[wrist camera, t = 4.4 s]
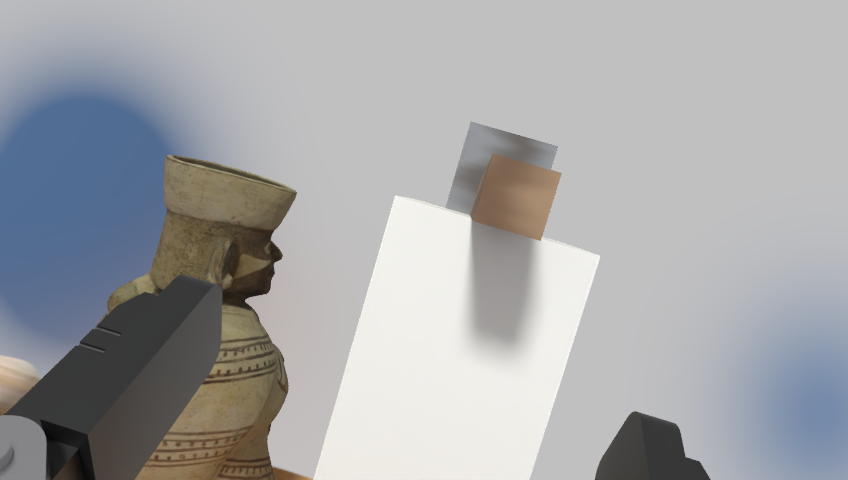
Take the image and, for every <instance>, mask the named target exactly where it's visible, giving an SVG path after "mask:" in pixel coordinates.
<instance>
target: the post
mask: <svg viewBox="0 0 848 480" xmlns="http://www.w3.org/2000/svg"><path fill="white" fill-rule="evenodd" d="M599 259H600V256H599V255H596V254H593V253H590V252H588V251H585V250H582V249H579V248H577V247H574V246H571V245H568V244H565V243H562V242H560V241H556V240H553V239H549V238H546V237H543V236H542V238H541V241H539V240H536V239H532V238H529V237H525V236H522V235H519V234H515V233H512V232H508V231H505V230H502V229H498V228H495V227H491V226H488V225H485V224H481V223H478V222H474V221H473V220H472V218H471V216H470V215H468V214H464V213H461V212H457V211H454V210H451V209H447V208H444V207H441V206H437V205H434V204H431V203H427V202H424V201H420V200H417V199H411V198H406V197H400V196H395V198H394V202H393V206H392V209H391V212H390V216H389V219H388V223H387V226H386V229H385V233H384V236H383V240H382V244H381V247H380V250H379V254H378V257H377V261H376V264H375V268H374V271H373V275H372V278H371V282H370V285H369V288H368V292H367V295H366V299H365V302H364V306H363V309H362V313H361V316H360V320H359V323H358V327H357V330H356V333H355V337H354V341H353V344H352V347H351V351H350V354H349V358H348V361H347V365H346V368H345V372H344V375H343V379H342V382H341V386H340V389H339V392H338V396H337V399H336V403H335V407H334V410H333V414H332V417H331V420H330V424H329V427H328V431H327V434H326V438H325V441H324V445H323V448H322V451H321V455H320V459H319V462H318V465H317V469H316V472H315V476H314V479H313V480H530V476H531V473H532V470H533V467H534V464H535V461H536V457H537V454H538V451H539V448H540V444H541V442H542V439H543V436H544V432H545V429H546V426H547V423H548V420H549V417H550V413H551V410H552V407H553V404H554V401H555V398H556V394H557V391H558V388H559V385H560V382H561V379H562V376H563V372H564V369H565V366H566V363H567V360H568V357H569V354H570V350H571V347H572V344H573V341H574V338H575V335H576V331H577V328H578V325H579V322H580V319H581V316H582V312H583V309H584V306H585V303H586V300H587V296H588V294H589V290H590V287H591V284H592V281H593V278H594V275H595V272H596V268H597V265H598V262H599Z"/></svg>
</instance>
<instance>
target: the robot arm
mask: <svg viewBox="0 0 848 480" xmlns="http://www.w3.org/2000/svg"><path fill="white" fill-rule="evenodd" d="M221 335H222V288H221V286H220V285H217V284H214V283H210V282H207V281H204V280H201V279H197V278H194V277H191V276H188V275H184V274H181V275H178V276H177V277H176V278H174V279H173V280H172V281H171V282H170V284H169V285H168V286H167V287H166V288H165V289H164V290H163V291H162V292H161V293H160V294H159V295H154V294H151V293H148V292H143V293H141V294H139V295H137V296H135V297H133V298H131V299H129V300H127V301H125V302H123V303H121V304H119V305H117V306H116V307H115V308H114V309H113V310H112V311H111V312H110V313H109V314H108V315H107V316H106V317H105V318H104V319H103V320H102V321H101V322H100V323H99V324H98V325H97V327H96V329H95V330H94V329H92V330H91V331H90V332H89V334H87V335H86V336H85V337H84V338H83V339H82V340H81V341H80V344H79V346H75V347H74V348H73V349H72V350H71V351H70V352H69V353H68V354H67V355H66V356H65V357H64V358H63V359H62V360H61V361H60V362H59V363H58V364H56V365H55V367H54V368H52V369H51V371H49V372H48V373H47V374H46V375H45V376H44V377H43V378H42V379H41V380H40V381H39V382H38V383H37V384H36V385H35V386H34V387H33V388H32V389H31V390H30V391H29V392H28V393H27V394H26V395H25V396H24V397H23V398H22V399H20V400H19V401H18V402H17V403H16V404H15V405H14V406H13V407H12V408H11V409H10V410H9V411H8V412H6V413H5V414H4V415H1V416H0V480H135V478H136V477H137V475H138V474H139V472H140V471H141V470H142V468H143V467H144V465H145V464H146V463H147V461H148V460H149V458H150V457H151V455H152V454H153V453H154V451H155V450H156V448H157V447H158V446H159V444H160V443H161V441H162V440H163V438H164V437H165V436H166V434H167V433H168V431H169V430H170V429H171V427H172V426H173V424H174V423H175V421H176V420H177V419H178V417H179V416H180V414H181V413H182V412H183V410H184V409H185V407H186V406H187V404H188V403H189V402H190V400H191V399H192V397H193V396H194V395H195V393H196V392H197V390H198V389H199V388H200V386H201V385H202V383H203V382H204V380H205V379H206V378H207V376H208V375H209V373H210V372H211V370H212V368H213V366H214V364H215V362H216V360H217V357H218V354H219V351H220V347H221ZM595 480H710V478H709V476H708V475H707V473H706V471H705V470H704V468H703V466H702V465H701V463H700V462H699V461H696V460H693V459H690V458H686V457H685V453H684V447H683V443H682V438H681V433H680V430H679V428H678V426H677V425H676V424H675V423H672V422H669V421H665V420H662V419H658V418H656V417H652V416H649V415H645V414H642V413H639V412H636V411H635V412H632V413H631V414H630V415H629V416H628V418H627V419H626V421H625V422H624V424H623V426H622V427H621V429H620V430H619V432H618V434H617V435H616V437H615V438H614V440H613V441H612V443H611V444H610V446H609V448H608V449H607V451H606V452H605V454H604V455H603V457H602V459H601V461H600V463H599V466H598V469H597V473H596V477H595Z"/></svg>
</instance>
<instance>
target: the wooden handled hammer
mask: <svg viewBox="0 0 848 480" xmlns="http://www.w3.org/2000/svg"><path fill="white" fill-rule="evenodd" d="M557 148H558V146H554V145H551V144H548V143H544V142H541V141H537V140H534V139H530V138H526V137H523V136H520V135H516V134H512V133H509V132H505V131H502V130H498V129H495V128H491V127H488V126H484V125H481V124H477V123H474V122H471V123H470V126H469V130H468V133H467V136H466V140H465V143H464V147H463V150H462V153H461V157H460V160H459V164H458V167H457V170H456V174H455V178H454V180H453V184H452V187H451V191H450V194H449V198H448V201H447V204H446V208H447V209H451V210H454V211H457V212H461V213H464V214H468V215H470V216H471V218H472V220H473V221H474V222H478V223H481V224H485V225H488V226H491V227H495V228H498V229H502V230H505V231H508V232H512V233H515V234H519V235H522V236H525V237H529V238H532V239H536V240H539V241H541V238H542V235H543V232H544V228H545V225H546V222H547V219H548V215H549V212H550V209H551V206H552V202H553V199H554V196H555V193H556V190H557V186H558V183H559V179H560V177H561V173H559V172H556V171H552V170H551V167H552V164H553V161H554V158H555V155H556V151H557Z"/></svg>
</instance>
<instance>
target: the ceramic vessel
mask: <svg viewBox="0 0 848 480" xmlns="http://www.w3.org/2000/svg"><path fill="white" fill-rule="evenodd" d="M296 194H297V192H296V191H295V190H293V189H292V188H290V187H288V186H286V185H284V184H282V183H279V182H276V181H273V180H270V179H268V178H265V177H262V176H259V175H256V174H253V173H249V172H247V171H243V170H239V169H236V168H232V167H228V166H225V165H221V164H218V163H214V162H209V161H204V160H198V159H193V158H187V157H182V156H176V155H167V156H166V160H165V165H164V203H165V206H166V208H167V213H166V217H165V221H164V226H163V229H162V233H161V237H160V241H159V245H158V248H157V251H156V255H155V258H154V261H153V265H152V268H151V270H150V271H149V272H148V273H147V274H146V275H144V276H142V277H139V278H137V279H135V280H133V281H130V282H129V283H127V284H125V285H123V286H122V287H120V288H118V289H117V290H115V291H114V292H113V293H112V294H111V296H110V298H109V300H108V303H107V306H108V312H107V313H106V315H105V316H104V317H103V318H102V319H101V321H102V320H103V319H104V318H105V317H106V316H107V315H108V314H109V313H110V312H111V311H112V310H113V309H114V308H115V307H116V306H117V305H119V304H121V303H123V302H125V301H127V300H129V299H131V298H133V297H135V296H137V295H139V294H141V293H143V292H148V293H151V294H154V295H159V294H160V293H161V292H162V291H163V290H164V289H165V288H166V287H167V286H168V285H169V284H170V282H171V281H172V280H173V279H174V278H176V277H177V276H178V275H181V274H184V275H188V276H191V277H194V278H197V279H201V280H204V281H207V282H210V283H214V284H217V285H220V286H221V288H222V335H221V347H220V351H219V354H218V357H217V360H216V362H215V364H214V366H213V368H212V370H211V372H210V373H209V375H208V376H207V378H206V379H205V380H204V382H203V383H202V385H201V386H200V388H199V389H198V390H197V392H196V393H195V395H194V396H193V397H192V399H191V400H190V402H189V403H188V404H187V406H186V407H185V409H184V410H183V412H182V413H181V414H180V416H179V417H178V419H177V420H176V421H175V423H174V424H173V426H172V427H171V429H170V430H169V431H168V433H167V434H166V436H165V437H164V438H163V440H162V441H161V443H160V444H159V446H158V447H157V448H156V450H155V451H154V453H153V454H152V455H151V457H150V458H149V460H148V461H147V463H146V464H145V465H144V467H143V468H142V470H141V471H140V472H139V474H138V475H137V477H136V478H135V480H275V479H274V474H273V470H272V465H271V461H270V456H269V452H268V446H267V436H268V434H269V431H270V427H271V422H272V421H273V420H274V418H275V417H276V416H277V414H278V413H279V411H280V409H281V407H282V405H283V403H284V401H285V398H286V396H287V393H288V378H287V374H286V371H285V367H284V358H283V355H282V354H281V352H280V350H279V349H278V348H277V347H276V346H275V345H274V344H273V343H272V341H271V339H270V337H269V335H268V333H267V332H266V330H265V329H264V327H263V326H262V325H261V323H260V321H259V317H258V315H257V313H256V312H255V310H254V309H253V308H252V307H251V306H249V305H248V304H247V303H246V302H245V299H247V298H249V297H253V296H258V295H263V294H267V293H268V292H269V290H270V287H271V279H272V277H273V275H274V274H275V272H274V262H277V261H279V260H281V259H282V256H283V255H282V253H281V251H280V249H279V248H278V247H277V246H276V245H275V244H274V243H273V242H272V241H271V236H272V233H273V232H274V230H275V229H276V228H277V227H278V226H279V225H280V224H281V222H282V220H283V219H284V217H285V216H286V214H287V212H288V210H289V209H290V207H291V205H292V203H293V201H294V200H295V197H296ZM101 321H100V322H101ZM100 322H99V323H100ZM99 323H98V324H99ZM98 324H97V325H98ZM96 327H97V326H96ZM96 327H95V329H96ZM95 329H94V330H95Z"/></svg>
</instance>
